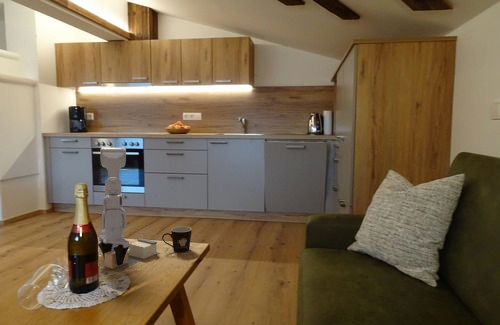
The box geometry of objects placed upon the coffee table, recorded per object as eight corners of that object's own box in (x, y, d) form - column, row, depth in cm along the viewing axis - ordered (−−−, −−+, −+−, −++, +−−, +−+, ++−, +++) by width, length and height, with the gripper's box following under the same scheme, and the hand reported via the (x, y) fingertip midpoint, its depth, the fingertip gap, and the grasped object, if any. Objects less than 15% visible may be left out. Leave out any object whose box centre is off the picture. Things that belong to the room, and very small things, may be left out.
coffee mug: (193, 249, 153) (194, 227, 153) (188, 256, 145) (188, 232, 144) (168, 248, 155) (168, 225, 154) (161, 254, 146) (161, 231, 145)
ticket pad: (128, 254, 142) (128, 242, 142) (141, 250, 149) (141, 237, 148) (144, 259, 138) (144, 246, 138) (157, 254, 144) (157, 241, 144)
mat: (97, 267, 132) (96, 264, 132) (141, 250, 151) (141, 248, 151) (117, 273, 126) (116, 270, 126) (160, 255, 145) (160, 253, 145)
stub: (104, 266, 130) (104, 253, 129) (120, 260, 136) (120, 248, 135) (112, 268, 128) (111, 255, 127) (127, 262, 134) (127, 249, 133)
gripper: (91, 226, 130) (91, 262, 131) (117, 232, 123) (118, 270, 124) (107, 222, 136) (107, 256, 137) (133, 228, 129) (133, 264, 130)
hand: (113, 262), depth 131 cm, fingers open, 6 cm apart
